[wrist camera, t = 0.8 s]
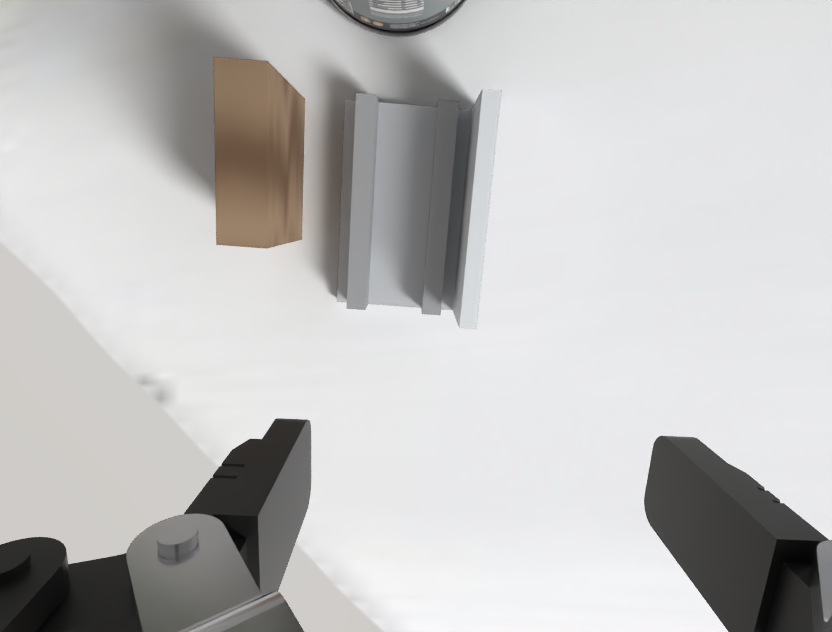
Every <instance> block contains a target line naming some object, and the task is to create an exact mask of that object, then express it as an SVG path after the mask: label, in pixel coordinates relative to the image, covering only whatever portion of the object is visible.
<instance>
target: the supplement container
mask: <svg viewBox="0 0 832 632" xmlns="http://www.w3.org/2000/svg"><path fill="white" fill-rule="evenodd" d="M331 1H332V2H333V4H334V5H335V6H336V7H337V8H338V9H339V10H340V11H341V12H342V13H343V14H344V15H345V16H346V17H347V18H348V19H350V20H351V21H353V22H354V23H355V24H357V25H359V26H360V27H362V28H364V29H366V30H369V31H371V32H374V33H377V34H380V35H385V36H391V37H408V36H414V35H418V34H422V33H425V32H427V31H430V30H432V29H434V28H436V27H438V26H440V25H441V24H443V23H444V22H446V21H447V20H448V19H450V18H451V17H452V16H453V15H454V14H455V13H456V12H457V11H458V10H459V9H460V8H461V7H462V6H463V4H464V3H465V2H466V1H467V0H331Z"/></svg>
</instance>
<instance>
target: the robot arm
mask: <svg viewBox="0 0 832 632" xmlns="http://www.w3.org/2000/svg"><path fill="white" fill-rule="evenodd" d="M310 491H311V425H310V421H309V420H300V419H275V421H274V422H273V424H272V425H271V427H270V428H269V430H268V431H267V433H266V434H265V436H264V437H263V439H249V440H248V441H246V442H244V443H243V444H241V445H239V446H238V447H236V448H235V449H233V450H232V451H231V452H230V454H229V455H228V456H227V457H226V459H225V460H224V461H223V463H222V466H220V467H219V468H218V470H217V471H216V472H215V473H214V475H213V478H211V479H210V480H209V481H208V483H207V484H206V485H205V487H204V488H203V489H202V491H201V492H200V493H199V495H198V496H197V497H196V498H195V500H194V501H193V502H192V504H191V505H190V506H189V508H188V509H187V510H186V512H185V513H184V514H183V515H179V516H174V517H171V518H168V519H165V520H163V521H160V522H158V523H156V524H154V525H152V526H150V527H148V528H147V529H145V530H144V531H143V532H141V533H140V534H139V535H138V536H137V537H136V538H135V539H134V540H133V541H132V543H131V544H130V546H129V548H128V550H127V553H125V554H122V555H117V556H113V557H107V558H101V559H96V560H91V561H85V562H79V563H73V564H68V561H67V553H66V548H65V546H64V544H63V543H61V542H60V541H58V540H56V539H52V538H47V537H34V538H25V539H20V540H15V541H11V542H9V543H5V544H1V545H0V632H304V631H303V629H302V627H301V626H300V624H299V622H298V621H297V619H296V617H295V616H294V614H293V612H292V610H291V609H290V607H289V606H288V604H287V602H286V600H285V599H284V597H283V596H282V595H281V594H280V593H279V592H278V590H279V587H280V584H281V581H282V578H283V576H284V573H285V570H286V567H287V565H288V562H289V559H290V556H291V553H292V550H293V547H294V545H295V542H296V539H297V537H298V534H299V531H300V528H301V526H302V523H303V520H304V517H305V514H306V512H307V508H308V504H309V499H310ZM644 505H645V512H646V516H647V519H648V521H649V523H650V525H651V527H652V528H653V529H654V531H655V532H656V534H657V535H658V536H659V538H660V539H661V540H662V542H663V543H664V544H665V546H666V547H667V549H668V550H669V551H670V553H671V554H672V555H673V557H674V558H675V559H676V561H677V562H678V563H679V565H680V566H681V568H682V569H683V570H684V572H685V573H686V574H687V576H688V577H689V578H690V580H691V581H692V582H693V584H694V585H695V587H696V588H697V589H698V591H699V592H700V593H701V595H702V596H703V597H704V599H705V600H706V602H707V603H708V604H709V606H710V607H711V608H712V610H713V611H714V612H715V614H716V615H717V616H718V618H719V619H720V621H721V622H722V623H723V625H724V626H725V627H726V629H727V630H728V631H729V632H832V540H828V539H827V538H826V537H825V536H823V535H822V534H821V533H820V532H818V531H817V530H816V529H815V528H814V527H812V526H811V525H810V524H809V523H807V522H806V521H805V520H804V519H802V518H801V517H800V516H799V515H797V514H796V513H795V512H794V511H792V510H791V509H790V508H789V507H787V506H786V505H785V504H784V503H780V500H779V499H778V498H776V497H775V496H774V495H773V494H771V493H770V492H769V491H765V490H764V487H763V486H761V485H760V484H759V483H758V482H757V481H755V480H754V479H753V478H752V477H750V476H749V475H748V474H747V473H745V472H743V471H741V470H739V469H737V468H736V467H734V466H732V465H730V464H728V463H726V462H725V461H724V460H723V459H722V458H720V457H719V456H718V455H717V454H715V453H714V452H713V451H712V450H711V449H709V448H708V447H707V446H706V445H705V444H703V443H702V442H701V441H700V440H698V439H697V438H694V437H674V436H660V437H658V438H657V439H656V441H655V443H654V446H653V451H652V457H651V462H650V468H649V474H648V480H647V485H646V491H645V498H644Z"/></svg>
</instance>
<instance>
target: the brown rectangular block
mask: <svg viewBox="0 0 832 632" xmlns="http://www.w3.org/2000/svg"><path fill="white" fill-rule="evenodd" d="M214 120H215V182H216V244H217V245H228V246H241V247H255V248H270V247H274V246H278V245H282V244H286V243H290V242H294V241H298V240H302V209H303V165H304V120H305V99H304V98H303V97H302V96H301V95H300V94H299V93H298V92H297V90H296V89H295V88H294V87H293V86H292V85H291V84H290V83H289V82H288V81H287V80H286V79H285V78H284V77H283V76H282V75H281V74H280V73H279V72H278V71H277V70H276V69H275V68H274V67H273V66H272V65H271V64H270V63H269V62H268V61H259V60H247V59H235V58H222V57H214Z"/></svg>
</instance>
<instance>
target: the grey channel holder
mask: <svg viewBox="0 0 832 632" xmlns="http://www.w3.org/2000/svg"><path fill="white" fill-rule="evenodd" d="M500 100H501V90H489V89H482V91H481V93H480V95H479V96H478V98H477V100H476V102H475V104H474V105H473V107H472V109H471V110H470V109H458V108H459V101H450V100H439V101H438V106H437V107H433V106H420V105H408V104H396V103H383V102H379V101H378V98H377V95H376V94H363V93H356V100H346V99H345V108H344V134H343V159H342V185H341V210H340V236H339V261H338V286H337V302H347V308H348V309H361V310H365V309H366V307H367V305H368V304H376V305H390V306H404V307H418V308H422V314H431V315H440V314H441V309H446V310H453V313H454V315H455V318H456V320H457V323H458V326H459V328H465V329H477V319H478V310H479V300H480V291H481V281H482V272H483V262H484V253H485V243H486V234H487V224H488V214H489V205H490V195H491V186H492V176H493V167H494V157H495V148H496V138H497V129H498V119H499V110H500Z"/></svg>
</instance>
